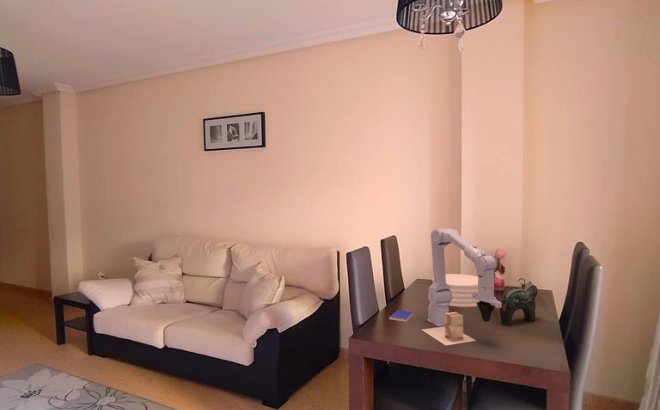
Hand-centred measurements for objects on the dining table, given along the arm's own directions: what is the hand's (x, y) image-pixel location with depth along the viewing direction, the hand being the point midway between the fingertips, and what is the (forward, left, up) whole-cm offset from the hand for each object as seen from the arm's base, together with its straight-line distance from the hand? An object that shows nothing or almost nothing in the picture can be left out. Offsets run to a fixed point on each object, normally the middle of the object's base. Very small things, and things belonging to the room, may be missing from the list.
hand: (486, 320), depth 147 cm
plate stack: (-57, +28, -10) cm, 64 cm away
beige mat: (-12, -9, -9) cm, 18 cm away
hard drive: (-42, -15, -10) cm, 46 cm away
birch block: (-8, -9, -9) cm, 15 cm away
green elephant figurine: (-16, +31, -10) cm, 36 cm away
